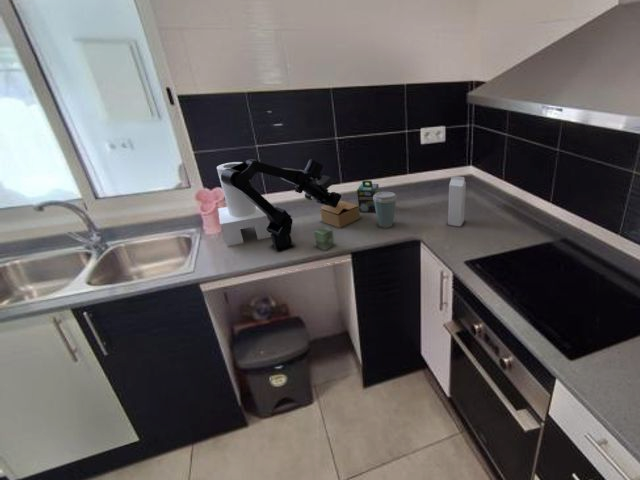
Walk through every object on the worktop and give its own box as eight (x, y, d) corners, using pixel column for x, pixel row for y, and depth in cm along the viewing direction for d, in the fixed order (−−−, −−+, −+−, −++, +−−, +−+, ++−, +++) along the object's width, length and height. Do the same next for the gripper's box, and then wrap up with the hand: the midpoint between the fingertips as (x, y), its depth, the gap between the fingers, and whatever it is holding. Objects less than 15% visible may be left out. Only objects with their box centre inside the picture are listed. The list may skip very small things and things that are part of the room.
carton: (339, 227, 171) (338, 214, 168) (322, 221, 177) (320, 208, 174) (359, 218, 180) (358, 205, 176) (342, 212, 186) (341, 200, 183)
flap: (338, 214, 168) (338, 214, 168) (320, 208, 174) (320, 208, 174) (346, 204, 170) (346, 204, 170) (329, 199, 176) (328, 198, 176)
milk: (460, 226, 171) (463, 179, 160) (447, 224, 172) (449, 178, 162) (464, 221, 176) (466, 175, 165) (451, 219, 177) (453, 173, 167)
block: (325, 250, 152) (322, 234, 149) (316, 246, 155) (314, 231, 152) (334, 245, 156) (332, 230, 152) (326, 242, 158) (324, 227, 155)
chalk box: (380, 205, 194) (378, 177, 187) (377, 212, 186) (374, 183, 179) (362, 205, 195) (360, 177, 188) (358, 211, 187) (355, 182, 180)
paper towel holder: (224, 229, 171) (205, 163, 156) (267, 220, 178) (253, 157, 164) (226, 246, 156) (206, 175, 142) (273, 236, 164) (259, 168, 149)
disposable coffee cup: (372, 221, 176) (370, 190, 169) (395, 218, 179) (394, 188, 172) (376, 230, 167) (374, 198, 160) (400, 228, 170) (399, 196, 163)
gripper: (335, 175, 155) (356, 193, 168) (305, 168, 165) (328, 185, 178) (323, 199, 154) (345, 215, 167) (294, 190, 163) (317, 206, 177)
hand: (334, 204), depth 172 cm, fingers closed, pressing on flap
